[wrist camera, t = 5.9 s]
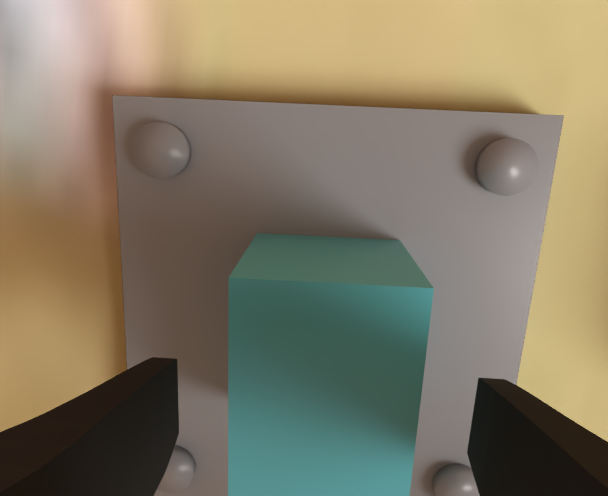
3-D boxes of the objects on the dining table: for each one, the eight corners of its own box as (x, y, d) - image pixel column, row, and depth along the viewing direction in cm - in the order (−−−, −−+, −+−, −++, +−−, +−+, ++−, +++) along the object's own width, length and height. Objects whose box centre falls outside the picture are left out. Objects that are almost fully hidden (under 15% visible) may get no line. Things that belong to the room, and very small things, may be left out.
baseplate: (481, 495, 18) (497, 532, 16) (146, 472, 18) (128, 507, 16) (544, 116, 14) (572, 114, 13) (128, 98, 15) (104, 93, 13)
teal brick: (383, 412, 16) (406, 520, 11) (254, 404, 16) (228, 508, 11) (400, 240, 14) (434, 288, 10) (257, 232, 14) (228, 277, 10)
